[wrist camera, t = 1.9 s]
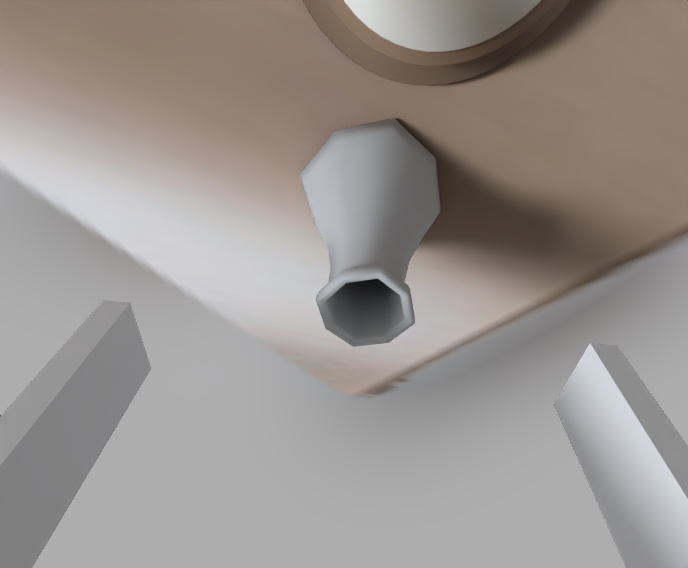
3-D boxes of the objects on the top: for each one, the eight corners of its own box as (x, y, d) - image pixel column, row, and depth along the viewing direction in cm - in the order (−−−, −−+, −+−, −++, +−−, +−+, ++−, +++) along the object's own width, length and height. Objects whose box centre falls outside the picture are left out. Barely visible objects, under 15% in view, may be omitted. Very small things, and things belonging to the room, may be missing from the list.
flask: (462, 214, 22) (511, 346, 14) (348, 267, 24) (332, 404, 16) (402, 87, 18) (419, 165, 10) (276, 165, 21) (211, 276, 13)
